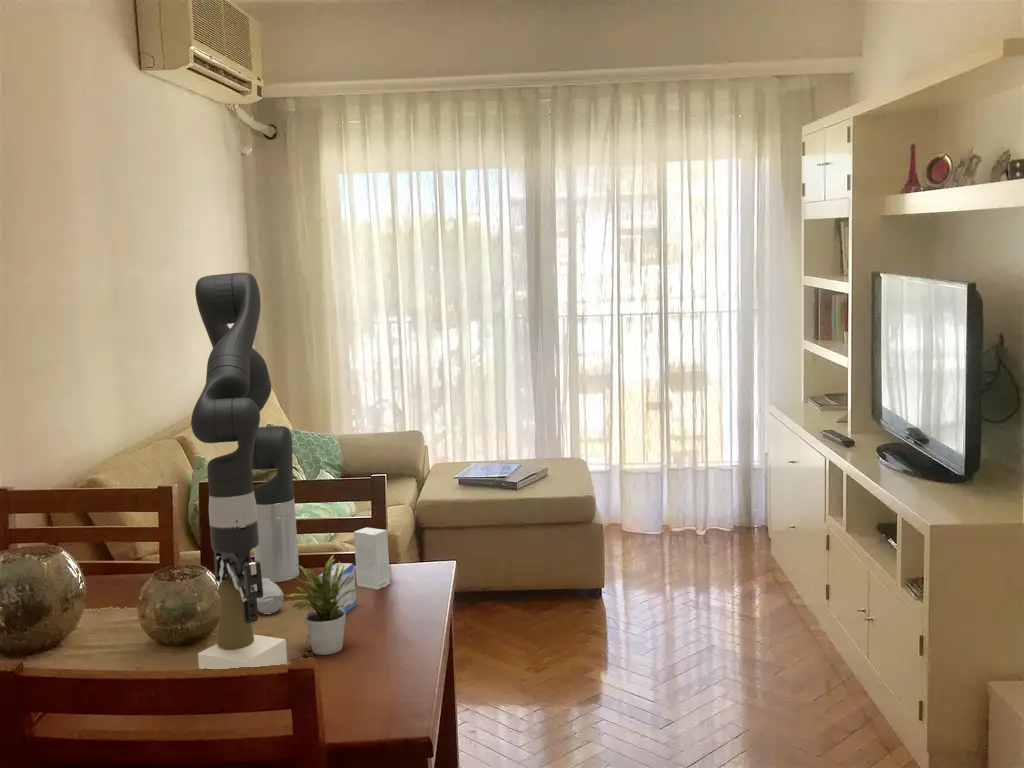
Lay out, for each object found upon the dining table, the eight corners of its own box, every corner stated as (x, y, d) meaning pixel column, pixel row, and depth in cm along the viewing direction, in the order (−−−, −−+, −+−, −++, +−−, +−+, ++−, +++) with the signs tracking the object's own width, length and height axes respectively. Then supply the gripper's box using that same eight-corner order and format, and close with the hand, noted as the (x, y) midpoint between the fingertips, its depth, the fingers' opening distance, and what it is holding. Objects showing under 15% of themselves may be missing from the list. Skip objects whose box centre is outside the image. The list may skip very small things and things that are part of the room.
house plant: (292, 633, 176) (286, 547, 174) (367, 629, 176) (363, 543, 175) (278, 664, 161) (271, 571, 160) (360, 660, 162) (354, 567, 160)
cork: (220, 631, 162) (218, 572, 160) (256, 631, 163) (255, 572, 161) (213, 649, 156) (212, 588, 154) (251, 649, 157) (250, 587, 155)
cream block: (200, 682, 156) (197, 653, 156) (241, 659, 165) (239, 632, 165) (247, 691, 152) (245, 661, 152) (287, 667, 161) (285, 639, 161)
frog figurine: (266, 606, 191) (264, 572, 190) (292, 611, 188) (289, 577, 187) (243, 616, 186) (241, 581, 185) (269, 621, 182) (267, 586, 182)
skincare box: (391, 584, 202) (388, 529, 201) (377, 590, 198) (374, 534, 197) (369, 580, 205) (366, 526, 204) (355, 586, 202) (352, 531, 200)
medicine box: (342, 619, 182) (339, 575, 181) (320, 618, 183) (317, 574, 182) (356, 605, 190) (354, 563, 189) (335, 604, 191) (333, 562, 190)
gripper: (195, 516, 159) (202, 609, 160) (228, 532, 147) (235, 632, 149) (238, 508, 163) (245, 599, 165) (273, 523, 152) (280, 620, 154)
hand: (240, 615), depth 157 cm, fingers open, 8 cm apart
